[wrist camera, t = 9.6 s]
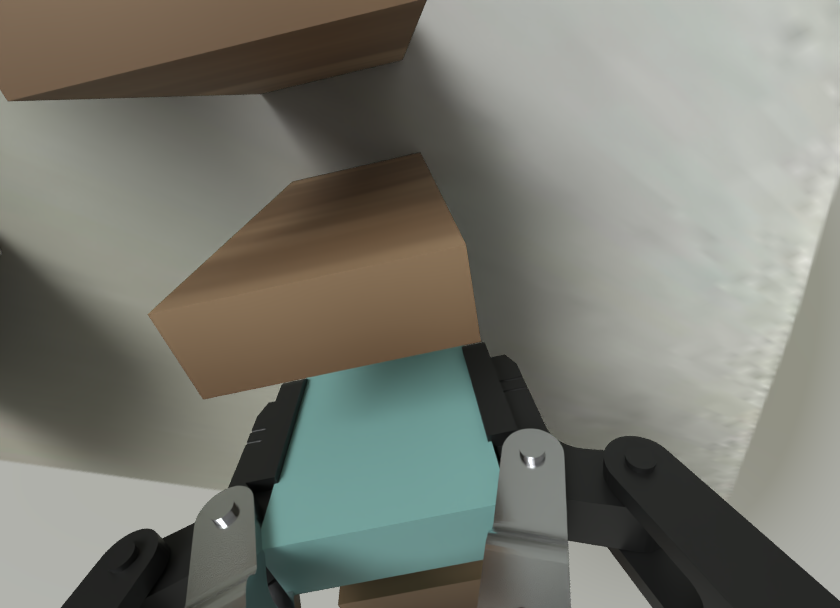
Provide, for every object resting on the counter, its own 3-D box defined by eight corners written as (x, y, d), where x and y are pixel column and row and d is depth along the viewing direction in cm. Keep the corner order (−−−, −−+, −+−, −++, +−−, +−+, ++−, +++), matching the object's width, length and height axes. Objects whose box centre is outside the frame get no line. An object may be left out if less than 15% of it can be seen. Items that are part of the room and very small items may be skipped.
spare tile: (327, 303, 16) (254, 551, 7) (444, 278, 16) (509, 502, 7) (341, 337, 17) (288, 596, 8) (451, 314, 17) (517, 553, 8)
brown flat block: (238, 31, 12) (-133, -113, 4) (389, -7, 12) (388, -255, 3) (260, 94, 13) (8, 101, 4) (402, 60, 13) (427, -2, 4)
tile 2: (292, 181, 15) (147, 314, 6) (420, 152, 14) (465, 244, 6) (308, 226, 16) (203, 399, 7) (429, 199, 15) (481, 341, 7)
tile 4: (361, 373, 19) (338, 605, 11) (459, 352, 19) (517, 572, 10) (371, 399, 20) (356, 633, 11) (464, 380, 20) (521, 603, 11)
